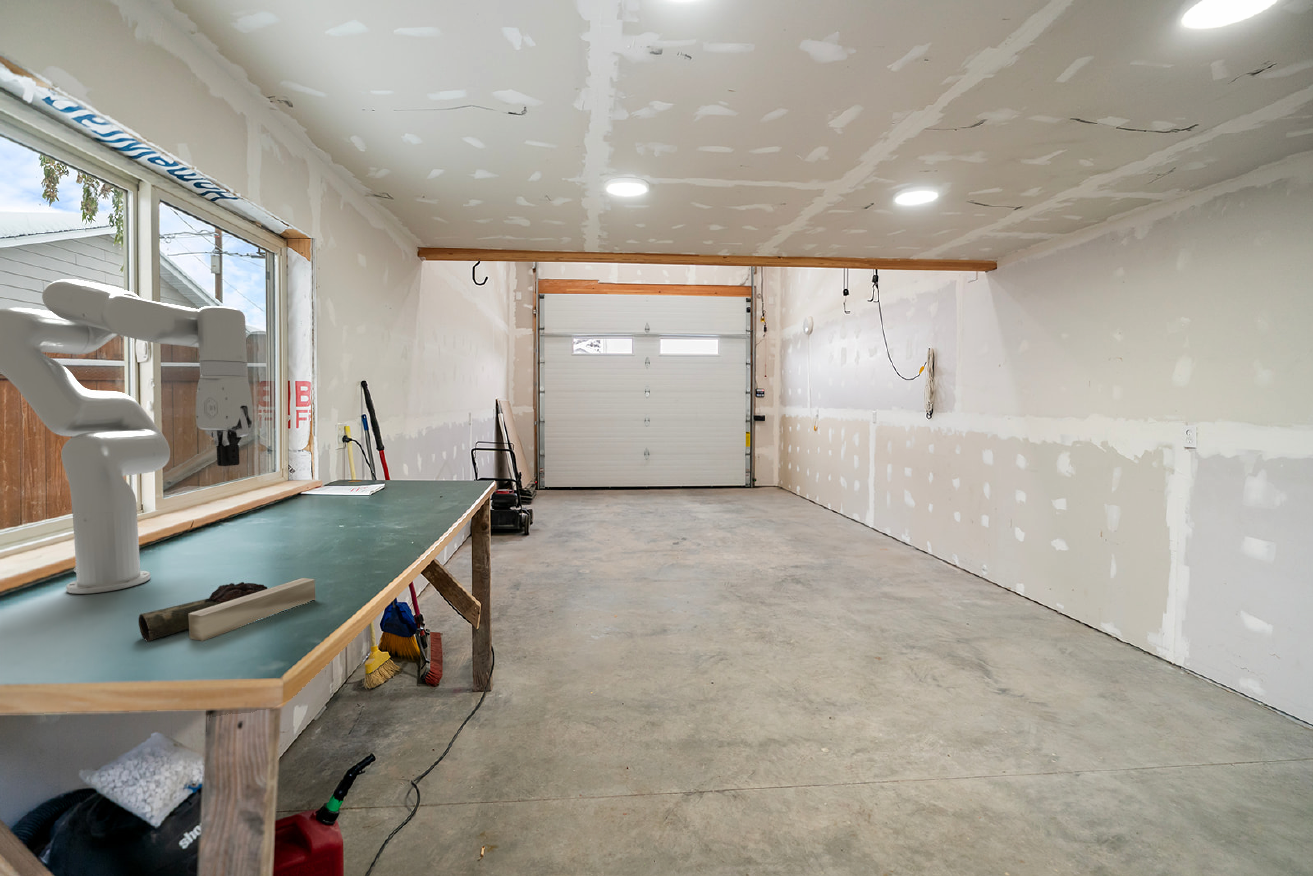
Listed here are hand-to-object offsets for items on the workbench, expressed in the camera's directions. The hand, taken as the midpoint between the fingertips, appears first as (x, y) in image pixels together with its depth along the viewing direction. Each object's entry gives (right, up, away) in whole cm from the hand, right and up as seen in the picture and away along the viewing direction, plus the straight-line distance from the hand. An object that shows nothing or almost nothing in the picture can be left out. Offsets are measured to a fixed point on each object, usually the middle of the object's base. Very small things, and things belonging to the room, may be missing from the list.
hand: (228, 465), depth 115 cm
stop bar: (+15, -26, -13) cm, 33 cm away
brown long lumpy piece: (+8, -27, -15) cm, 31 cm away
